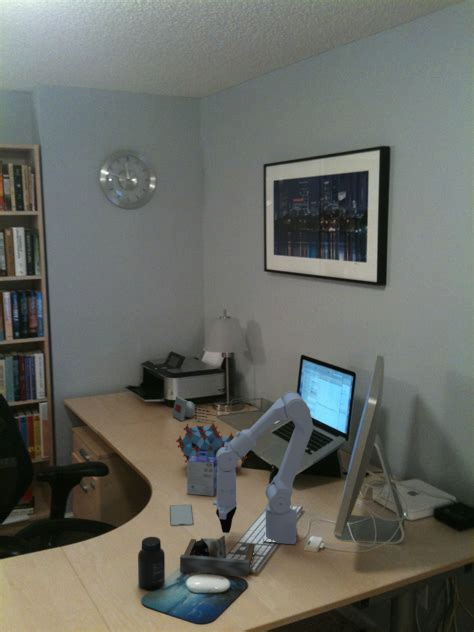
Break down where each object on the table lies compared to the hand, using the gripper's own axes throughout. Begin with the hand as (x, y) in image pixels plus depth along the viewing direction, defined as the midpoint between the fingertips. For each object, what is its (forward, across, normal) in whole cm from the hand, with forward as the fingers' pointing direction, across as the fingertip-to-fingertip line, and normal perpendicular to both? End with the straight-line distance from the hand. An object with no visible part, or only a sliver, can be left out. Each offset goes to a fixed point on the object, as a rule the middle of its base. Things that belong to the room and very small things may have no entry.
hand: (226, 531), depth 192 cm
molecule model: (+3, -54, -14) cm, 56 cm away
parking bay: (+2, +12, 0) cm, 13 cm away
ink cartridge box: (+3, -33, -14) cm, 36 cm away
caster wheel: (+3, +11, -3) cm, 12 cm away
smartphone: (+3, -14, -17) cm, 22 cm away
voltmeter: (+3, -116, -34) cm, 121 cm away
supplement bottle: (+3, +27, -15) cm, 31 cm away
